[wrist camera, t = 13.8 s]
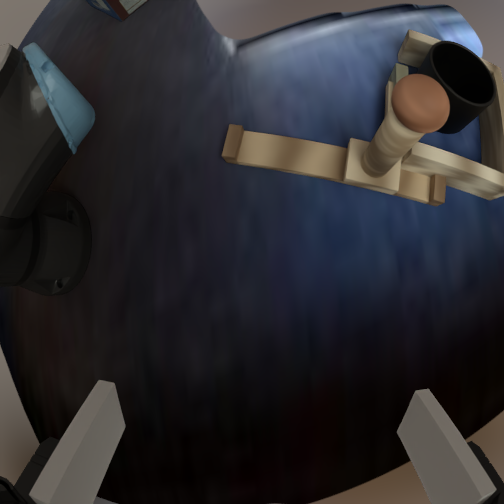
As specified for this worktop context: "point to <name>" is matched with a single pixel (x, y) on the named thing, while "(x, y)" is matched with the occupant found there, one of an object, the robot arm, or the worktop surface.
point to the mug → (459, 82)
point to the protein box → (117, 7)
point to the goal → (451, 165)
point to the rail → (317, 162)
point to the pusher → (397, 130)
